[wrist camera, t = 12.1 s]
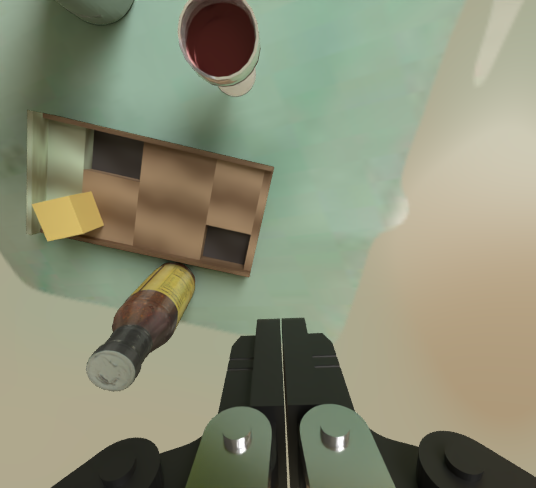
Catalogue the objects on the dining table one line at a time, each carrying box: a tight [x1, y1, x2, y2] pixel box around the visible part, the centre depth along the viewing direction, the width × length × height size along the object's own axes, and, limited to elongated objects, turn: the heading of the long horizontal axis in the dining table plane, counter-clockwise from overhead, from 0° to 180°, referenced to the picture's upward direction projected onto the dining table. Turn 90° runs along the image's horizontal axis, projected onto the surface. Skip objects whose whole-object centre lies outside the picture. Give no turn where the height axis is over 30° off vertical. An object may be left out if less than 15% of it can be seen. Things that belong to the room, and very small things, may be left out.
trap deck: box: [26, 110, 274, 277], centre depth 38 cm, size 14×28×4 cm, turn 77°
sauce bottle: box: [86, 263, 195, 391], centre depth 34 cm, size 7×6×20 cm
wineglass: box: [178, 0, 261, 96], centre depth 31 cm, size 7×7×12 cm
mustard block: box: [32, 191, 104, 241], centre depth 37 cm, size 4×4×4 cm
